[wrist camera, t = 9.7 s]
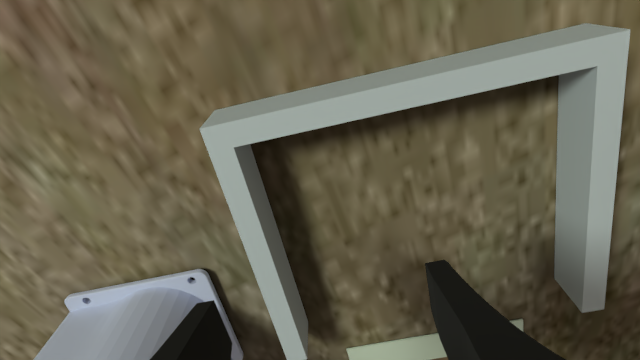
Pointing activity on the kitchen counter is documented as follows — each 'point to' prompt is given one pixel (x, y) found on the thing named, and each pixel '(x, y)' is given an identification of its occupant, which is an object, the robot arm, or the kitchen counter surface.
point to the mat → (406, 348)
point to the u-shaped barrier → (429, 87)
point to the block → (444, 359)
